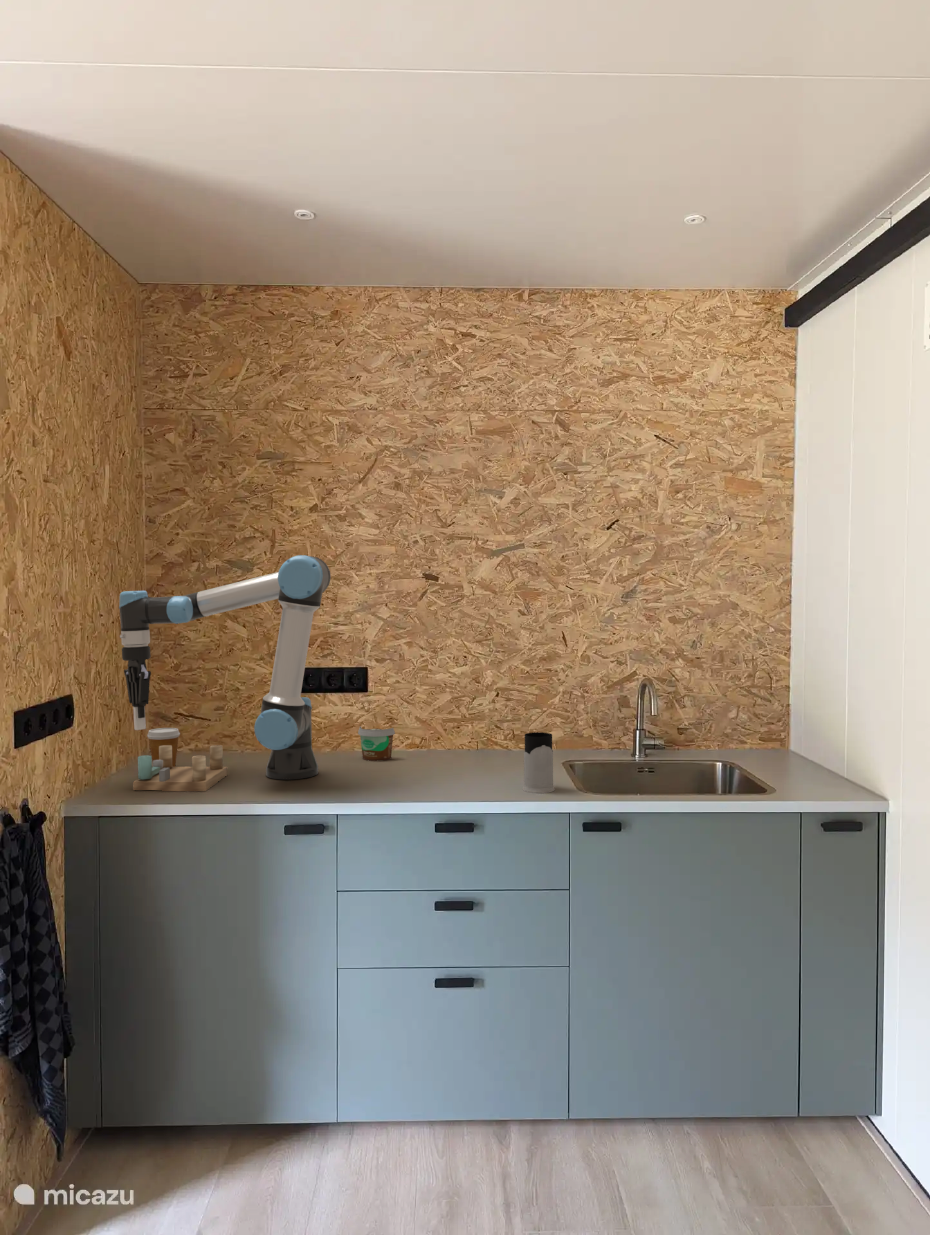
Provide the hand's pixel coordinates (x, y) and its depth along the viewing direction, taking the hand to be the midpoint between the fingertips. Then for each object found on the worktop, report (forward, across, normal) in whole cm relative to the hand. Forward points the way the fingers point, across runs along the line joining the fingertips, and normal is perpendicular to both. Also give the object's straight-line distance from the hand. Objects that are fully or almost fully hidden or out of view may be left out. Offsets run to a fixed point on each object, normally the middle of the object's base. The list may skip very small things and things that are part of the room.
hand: (140, 729), depth 256 cm
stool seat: (+16, +6, +9) cm, 19 cm away
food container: (+18, +18, +68) cm, 72 cm away
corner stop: (+14, +10, +2) cm, 17 cm away
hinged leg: (+13, +3, +1) cm, 13 cm away
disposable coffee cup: (+16, -16, +13) cm, 26 cm away
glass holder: (+19, +79, +77) cm, 112 cm away
